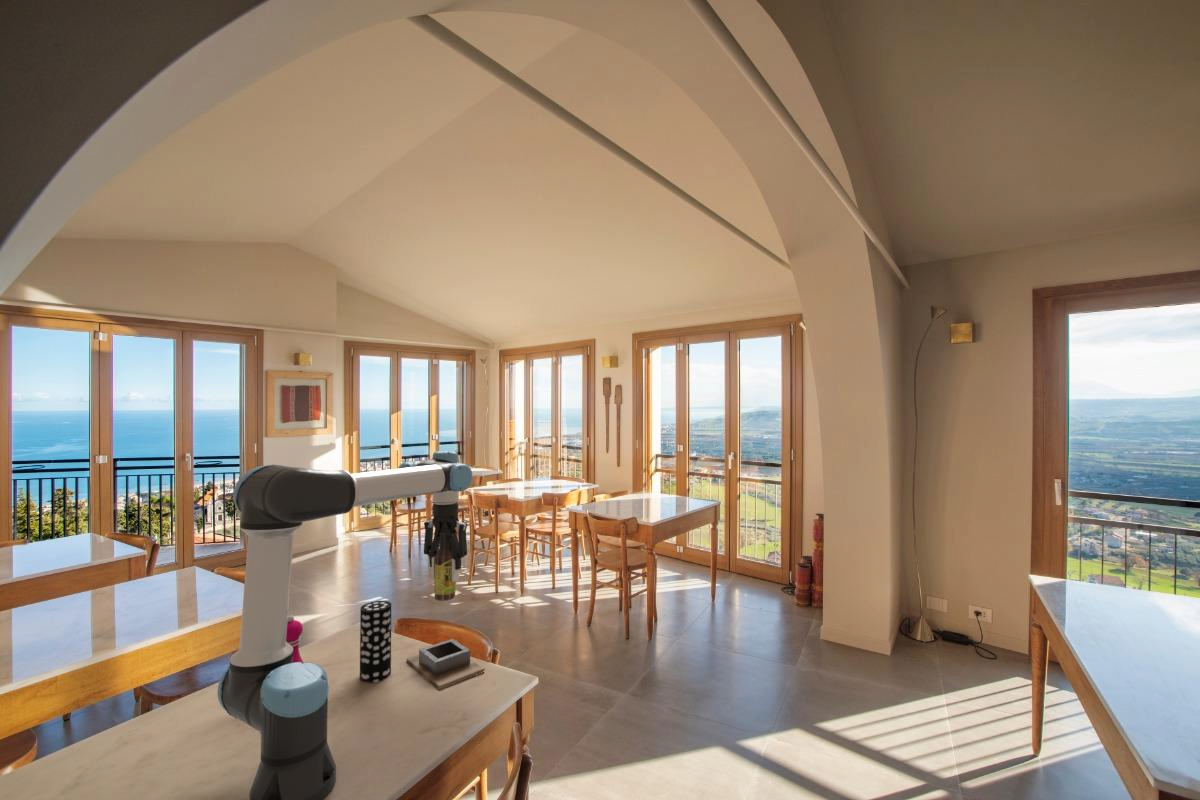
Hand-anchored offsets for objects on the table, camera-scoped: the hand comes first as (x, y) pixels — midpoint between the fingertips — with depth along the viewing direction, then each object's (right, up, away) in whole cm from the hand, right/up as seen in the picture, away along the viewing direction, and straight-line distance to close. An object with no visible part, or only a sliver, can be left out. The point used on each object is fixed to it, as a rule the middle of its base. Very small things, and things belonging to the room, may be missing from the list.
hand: (445, 578), depth 157 cm
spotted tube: (-19, -26, -6) cm, 33 cm away
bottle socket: (0, -26, -1) cm, 26 cm away
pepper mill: (-39, -26, -13) cm, 49 cm away
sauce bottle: (0, -6, 0) cm, 6 cm away
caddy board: (0, -26, -1) cm, 26 cm away
